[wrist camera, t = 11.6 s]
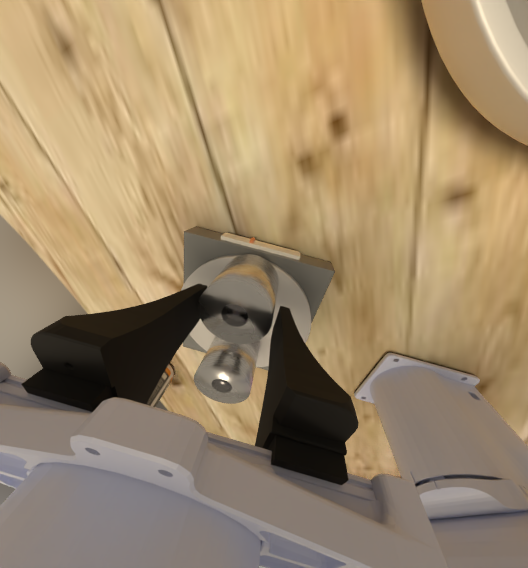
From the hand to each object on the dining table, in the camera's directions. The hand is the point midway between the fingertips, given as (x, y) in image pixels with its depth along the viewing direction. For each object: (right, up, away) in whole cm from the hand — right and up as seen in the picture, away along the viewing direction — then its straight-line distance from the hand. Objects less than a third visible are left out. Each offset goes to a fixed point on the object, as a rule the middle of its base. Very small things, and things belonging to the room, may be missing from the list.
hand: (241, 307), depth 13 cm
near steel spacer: (0, +2, +2) cm, 3 cm away
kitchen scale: (0, 0, +6) cm, 6 cm away
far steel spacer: (-1, -4, +5) cm, 7 cm away
